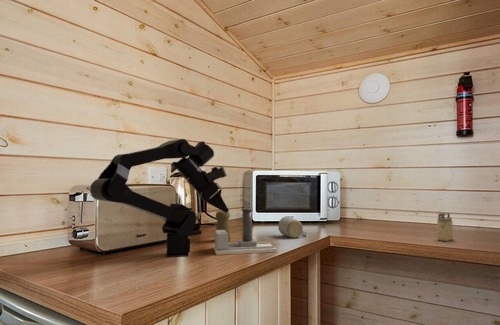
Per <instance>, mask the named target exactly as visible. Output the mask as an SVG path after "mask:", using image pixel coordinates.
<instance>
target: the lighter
mask: <svg viewBox="0 0 500 325" xmlns="http://www.w3.org/2000/svg"><path fill="white" fill-rule="evenodd" d="M446 215H447V216H446ZM437 216H438V217H437V221H436V223H437V224H436V225H437V229H436V230H437V241H445V242H447V241H453V240H454V236H453V235H454V233H453V232H454V230H453V229H454V227H453V219H452V217H450V216H451V215H450V213H449V212H447V213H445V212H440V213H438V214H437ZM445 216H446V217H445Z"/></svg>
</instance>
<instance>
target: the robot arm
mask: <svg viewBox="0 0 500 325" xmlns="http://www.w3.org/2000/svg"><path fill="white" fill-rule="evenodd" d="M214 156H215V152H214V150H213V148H212V147H211V146H209V145H208V144H206V142H205V141H203V140H202V141H198V142H197V143H196V144H195V145H192V144H190V143H189V141H188V140H187V139H186V138H181V139H172V140H168V141H166V142H163V143H162V144H159V146H156V147H152V148H148V149H144V150H143V149H142V150H139V151H138V150H137V151H133V152H129V153H121V154H117V155H115V156H114V157H113V158H112V159H111V161H110V163H109V164H108V165H107V166H106V167H105V168H104V169H103V171H102V172H101V173H100V174H99V176H98V178H97V179H95V180H94V181H93V182H92V183H91V185H90V188H89V191H90V194H91V197H92V198H93V199H94V200H97V201H102V202H109V203H116V204H120V205H121V204H123V205H126V206H127V207H131V208H133V209H136V210H139V211H140V212H141V211H142V212H145V213H147V214H150V215H153V216H155V217H158V218H161V219H163V221H164V224H163V225H162V226H161V230H162V233H163V234H166V253H165V254H166V255H165V256H166V257H168V258H169V257H187V256H189V253H190V252H191V237H190V235H193V232H194V230H195V226H196V222H197V215H196V212H195V211H194V210H193V207H187V206H186V205H184V204H182V203H170V206H169V205H168V204H165V203H163V202H160V201H157V200H155V199H153V198H151V197H147V196H145V195H143V194H140V193H137V192H135V191H133V190H132V189H131V188H130V187H129V186H128V185H127V184H126V183H127V182H128V180H129V175H130V171H131V169H132V168H133V167H138V166H141V165H144V164H148V163H149V164H150V163H153V162H157V161H160V160H166V159H167V160H169V159H170V160H171V159H172V160H173V159H179V160H178V161H172V162H171V163H170V173H171V174H172V173H174V172H175V171H178V172H179V174H180V175H181V176H182V177H183V178H184V179H185V180H186V181H187V182H188V184H189V185H190V186H191V187H192V188H193V189H194V190H195V191H196V192H197V194H198V195H197V196H199V198H200V199H201V200H202V201H204V202H205V203H206V204H209V205H210V206H212V207H213V208H217V209H218V210H219V211H224V212H226V213H227V212H229V208H228V206H227V205H226V203H225V200H224V199H223V197H222V191H223V190H222V188H221V186H220V184H219V183H218V182H215V181H216V180H218V179H221V178H225V177H227V173H226V169H225V167H224V166H222V167H220V168H219V167H217V166H214V167H212V168H211V171H209V172H207V171H205V170H202V169H201V167H202V168H203V166H205V165H206V164H207V163H208V162H209V161H211V160H212V159H213V158H214Z"/></svg>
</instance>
